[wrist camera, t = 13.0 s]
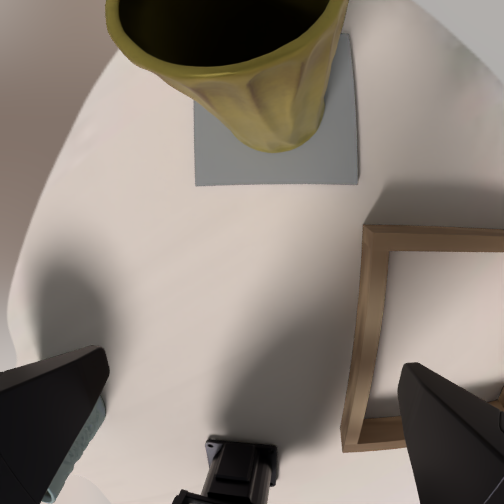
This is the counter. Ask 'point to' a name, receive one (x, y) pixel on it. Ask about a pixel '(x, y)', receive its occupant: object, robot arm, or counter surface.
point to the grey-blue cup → (76, 451)
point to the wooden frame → (371, 312)
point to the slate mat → (294, 161)
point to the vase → (239, 59)
